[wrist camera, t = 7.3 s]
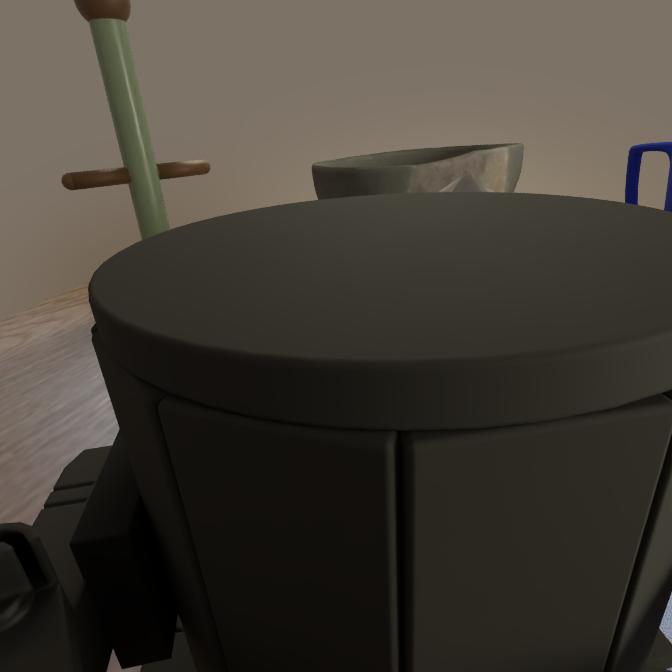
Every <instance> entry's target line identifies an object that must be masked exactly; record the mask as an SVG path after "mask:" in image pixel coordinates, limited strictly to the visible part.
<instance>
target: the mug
mask: <svg viewBox="0 0 672 672" xmlns="http://www.w3.org/2000/svg"><path fill="white" fill-rule="evenodd" d="M646 151H662V152H666V153H667V154H668V156H669V159H670V169H669V177H668V185H667V192H666V200H665V208H664V211H669V212H672V142H660V143H649V144H640V145H636V146H632V147H631V149H630V151H629V156H628V165H627V174H626V188H625V203H628V204H634V205H638V203H637V202H638V182H639V172H640V165H641V157H642V153H643V152H646Z"/></svg>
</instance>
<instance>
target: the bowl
mask: <svg viewBox="0 0 672 672" xmlns="http://www.w3.org/2000/svg"><path fill="white" fill-rule="evenodd" d="M523 150H524V145H523V144H522V143H515V144H495V145H472V146H455V147H441V148H424V149H412V150H401V151H393V152H384V153H377V154H371V155H361V156H354V157H347V158H341V159H336V160H330V161H324V162H317V163H314V164H313V165H312V175H313V180H314V186H315V191H316V194H317V197H318V200H323V199H332V198H342V197H354V196H366V195H381V194H398V193H423V192H439V191H441V190H442V189H443V188H445V187H446V186H448V185H449V184H450V183H452V182H453V181H455V180H456V179H457V178H458V177H460V175H461V173H462V172H463V171H464V170H466V169H470V170H471V171H472V173H473V175H474V176H475V178H476V179H477V180H478V182H479V183H480V184H481V185H483V186H484V187H486V188H488V189H489V190H491V191H494V192H506V193H513V192H514V189H515V187H516V184H517V182H518V179H519V176H520V173H521V168H522V161H523Z"/></svg>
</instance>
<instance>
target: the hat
mask: <svg viewBox="0 0 672 672" xmlns="http://www.w3.org/2000/svg"><path fill="white" fill-rule="evenodd" d="M88 292H89V302H90V306H91V309H92V312H93V315H94V319H95V322H96V323H95V325H94V326H93V327H92V328H91V332H92V342H93V346H94V349H95V352H96V355H97V358H98V361H99V365H100V368H101V371H102V374H103V377H104V380H105V384H106V387H107V390H108V393H109V396H110V399H111V402H112V406H113V409H114V412H115V415H116V418H117V421H118V425H119V428H120V431H121V434H122V437H123V440H124V444H125V447H126V450H127V453H128V456H129V459H130V462H131V466H132V469H133V472H134V475H135V478H136V481H137V485H138V488H139V491H140V494H141V497H142V500H143V504H144V507H145V510H146V513H147V516H148V519H149V522H150V526H151V529H152V532H153V535H154V538H155V541H156V545H157V548H158V551H159V554H160V557H161V560H162V564H163V567H164V570H165V573H166V576H167V579H168V582H169V586H170V589H171V592H172V595H173V598H174V601H175V605H176V608H177V611H178V618H177V625H176V631H175V638H174V645H173V651H172V658H171V659H167V660H162V661H158V662H153V663H148V664H144V665H142V667H141V672H672V671H670V670H666V669H667V668H671V667H672V644H671V643H670V641H669V640H668V639H667V638H666V636H665V635H664V634H663V633H662V631H661V630H660V629H659V627H660V624H661V621H662V618H663V615H664V612H665V609H666V607H667V604H668V601H669V598H670V595H671V592H672V212H669V211H664V210H659V209H655V208H650V207H645V206H639V205H634V204H628V203H622V202H615V201H607V200H599V199H591V198H582V197H572V196H559V195H546V194H529V193H506V192H423V193H398V194H381V195H366V196H354V197H342V198H332V199H323V200H315V201H306V202H299V203H292V204H284V205H278V206H271V207H265V208H259V209H253V210H249V211H243V212H237V213H233V214H228V215H223V216H219V217H214V218H211V219H206V220H203V221H199V222H195V223H191V224H187V225H184V226H181V227H177V228H174V229H171V230H168V231H165V232H162V233H159V234H157V235H154V236H151V237H149V238H147V239H144V240H142V241H140V242H137V243H135V244H133V245H131V246H129V247H127V248H126V249H124V250H122V251H120V252H118V253H117V254H115V255H114V256H112V257H111V258H109V259H108V260H107V261H105V262H104V263H103V264H102V265H101V266H100V267H99V268H98V269H97V270H96V271H95V272H94V274H93V277H92V278H91V281H90V283H89V287H88Z"/></svg>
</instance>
